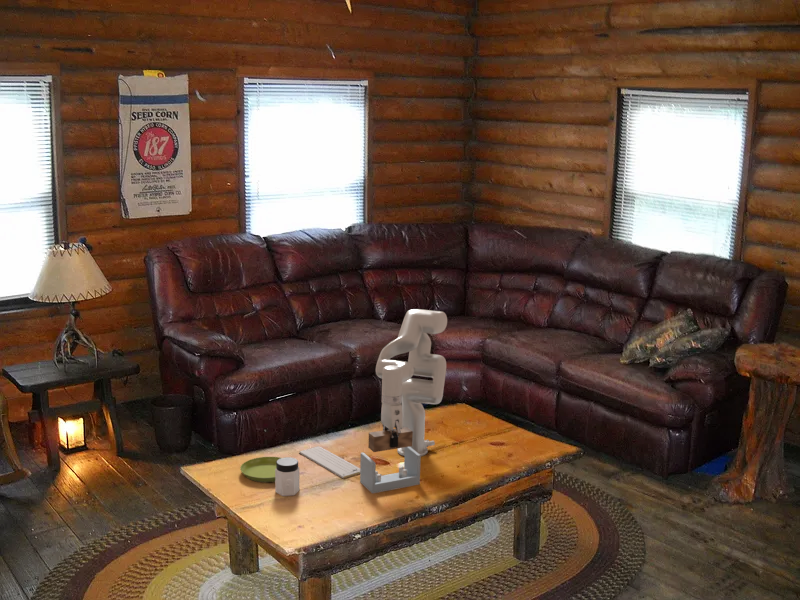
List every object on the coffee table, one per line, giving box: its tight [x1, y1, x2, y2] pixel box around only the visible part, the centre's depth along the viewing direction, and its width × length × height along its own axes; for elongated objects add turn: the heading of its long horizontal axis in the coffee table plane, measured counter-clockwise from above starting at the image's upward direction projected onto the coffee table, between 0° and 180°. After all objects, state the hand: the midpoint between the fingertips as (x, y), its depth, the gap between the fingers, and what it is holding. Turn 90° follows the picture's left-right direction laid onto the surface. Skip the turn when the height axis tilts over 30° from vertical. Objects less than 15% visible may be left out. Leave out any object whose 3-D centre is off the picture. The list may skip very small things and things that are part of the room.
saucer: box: [239, 456, 281, 483], centre depth 356 cm, size 21×21×3 cm
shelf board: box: [367, 427, 413, 453], centre depth 346 cm, size 16×5×6 cm, turn 116°
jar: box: [274, 456, 300, 497], centre depth 340 cm, size 9×8×12 cm
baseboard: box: [299, 445, 360, 480], centre depth 369 cm, size 31×3×12 cm
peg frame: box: [359, 447, 422, 494], centre depth 349 cm, size 20×11×12 cm, turn 116°
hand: (390, 443), depth 346 cm, fingers closed on shelf board, 5 cm apart
